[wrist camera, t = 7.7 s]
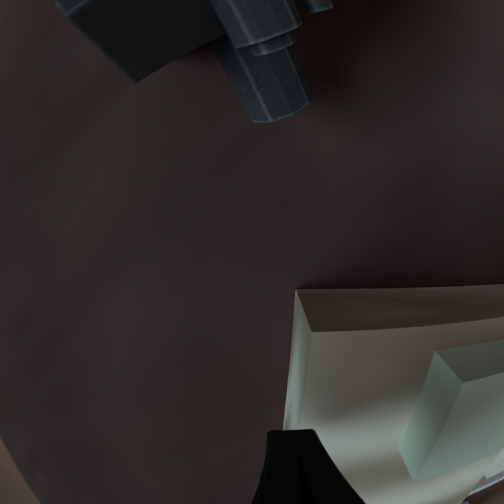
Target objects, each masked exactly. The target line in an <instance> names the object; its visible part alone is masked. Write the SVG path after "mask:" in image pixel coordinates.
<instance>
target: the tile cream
mask: <svg viewBox="0 0 504 504" xmlns="http://www.w3.org/2000/svg"><path fill="white" fill-rule="evenodd" d="M502 471H504V448H503V450H501V451H500V452H499V454H498V455H497V457H496V458H495V460H494V461H493V463H492V464H491V465H490V467H489V468H488V470H487V471H486V472H485V474H484V475H485V477H486V479H487V478H489V477H492V476H494V475H496V474H498V473H500V472H502Z"/></svg>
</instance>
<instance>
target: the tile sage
mask: <svg viewBox="0 0 504 504" xmlns="http://www.w3.org/2000/svg"><path fill="white" fill-rule="evenodd" d="M503 448H504V339H501V340H496V341H491V342H486V343H480V344H475V345H469V346H463V347H457V348H450V349H443V350H436V351H434V355H433V358H432V361H431V364H430V368H429V371H428V374H427V377H426V380H425V383H424V386H423V388H422V391H421V394H420V397H419V399H418V402H417V405H416V407H415V410H414V412H413V415H412V417H411V420H410V422H409V425H408V427H407V430H406V432H405V434H404V436H403V439H402V441H401V443H400V445H399V448H398V449H399V452H400V454H401V456H402V458H403V460H404V462H405V465H406V467H407V469H408V471H409V473H410V475H411V478H412V480H413V482H415V481H419V480H422V479H426V478H429V477H432V476H436V475H439V474H442V473H445V472H448V471H451V470H454V469H457V468H459V467H462V466H465V465H468V464H470V463H473V462H475V461H478V460H480V459H483V458H485V457H488V456H490V455H492V454H495V453H497V452H499V451H501V450H503Z"/></svg>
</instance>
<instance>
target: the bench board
mask: <svg viewBox="0 0 504 504" xmlns="http://www.w3.org/2000/svg"><path fill="white" fill-rule="evenodd" d="M501 339H504V284H495V285H475V286H452V287H423V288H380V289H296V293H295V307H294V320H293V332H292V344H291V355H290V366H289V376H288V386H287V396H286V405H285V414H284V423H283V430H299V429H313V430H315V431H316V433H317V435H318V437H319V439H320V441H321V442H322V444H323V446H324V448H325V449H326V451H327V453H328V454H329V456H330V457H331V459H332V460H333V462H334V463H335V465H336V466H337V468H338V469H339V471H340V472H341V473H342V475H343V476H344V477H345V479H346V480H347V481H348V483H349V484H350V485H351V486H352V488H353V489H354V490H355V491H356V493H357V494H358V495H359V496H360V497H361V498H362V499H363V501H364V502H365V503H366V504H461V503H462V502H463V501H464V500H465V498H466V497H467V496H468V495H469V493H470V492H471V491H472V490H473V488H474V487H475V486H476V485H477V483H478V482H479V481H480V479H481V478H482V477H483V475H484V474H485V472H486V471H487V470H488V468H489V467H490V465H491V464H492V463H493V461H494V460H495V458H496V457H497V455H498V454H499V452H500V451H499V452H497V453H495V454H492V455H490V456H488V457H485V458H483V459H480V460H478V461H475V462H473V463H470V464H468V465H465V466H462V467H459V468H457V469H454V470H451V471H448V472H445V473H442V474H439V475H436V476H432V477H429V478H426V479H422V480H419V481H415V482H413V480H412V478H411V475H410V473H409V471H408V469H407V467H406V465H405V462H404V460H403V458H402V456H401V454H400V452H399V449H398V448H399V445H400V443H401V441H402V439H403V436H404V434H405V432H406V430H407V427H408V425H409V422H410V420H411V417H412V415H413V412H414V410H415V407H416V405H417V402H418V399H419V397H420V394H421V391H422V388H423V386H424V383H425V380H426V377H427V374H428V371H429V368H430V364H431V361H432V358H433V355H434V351H436V350H443V349H450V348H457V347H463V346H469V345H475V344H480V343H486V342H491V341H496V340H501Z"/></svg>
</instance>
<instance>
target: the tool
mask: <svg viewBox="0 0 504 504" xmlns="http://www.w3.org/2000/svg"><path fill="white" fill-rule="evenodd" d="M53 1H54V2H55V4H56V5H57V7H58V8H59V10H60V11H61V13H62V14H63V16H64V17H65V18H66V19H67V20H68V21H69V22H70V23H71V24H72V25H73V26H74V27H76V28H77V29H78V30H79V31H80V32H81V33H82V34H83V35H84V36H85V37H86V38H87V39H88V40H90V41H91V42H92V43H93V44H94V45H95V46H96V47H97V48H98V49H99V50H100V51H101V52H102V53H103V54H104V55H105V56H107V57H108V58H109V59H110V60H111V61H112V62H113V63H114V64H115V65H116V66H117V67H118V68H119V69H120V70H121V71H122V72H123V73H124V74H125V75H126V76H127V77H128V78H129V79H130V80H131V81H133V82H134V83H135V84H136V83H137V82H139V81H140V80H142V79H143V78H145V77H147V76H148V75H150V74H151V73H153V72H155V71H156V70H158V69H160V68H161V67H163V66H165V65H167V64H168V63H170V62H172V61H174V60H175V59H177V58H179V57H181V56H183V55H184V54H186V53H188V52H190V51H192V50H194V49H196V48H198V47H200V46H202V45H204V44H206V43H208V42H210V44H211V46H212V48H213V50H214V51H215V53H216V55H217V57H218V59H219V60H220V62H221V64H222V66H223V68H224V70H225V71H226V73H227V75H228V77H229V79H230V81H231V83H232V85H233V86H234V88H235V90H236V92H237V94H238V96H239V98H240V100H241V102H242V104H243V106H244V107H245V109H246V111H247V113H248V115H249V117H250V118H251V120H252V121H253V122H254V123H258V122H274V121H277V120H279V119H282V118H285V117H288V116H291V115H294V114H295V113H297V112H298V111H300V110H302V109H303V108H305V107H307V106H308V105H310V103H311V100H312V98H313V93H312V90H311V88H310V85H309V83H308V80H307V78H306V75H305V73H304V70H303V68H302V65H301V63H300V61H299V58H298V56H297V54H296V51H295V49H294V47H293V44H294V43H295V42H296V39H295V36H294V34H293V32H292V30H293V29H296V28H298V27H299V26H300V25H301V24H302V23H303V21H302V19H301V16H300V14H299V12H298V10H297V7H296V6H297V5H300V4H303V3H304V4H305V6H306V9H307V11H308V13H315V12H320V11H324V10H327V9H330V8H333V7H334V6H333V3H332V1H331V0H53Z"/></svg>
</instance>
